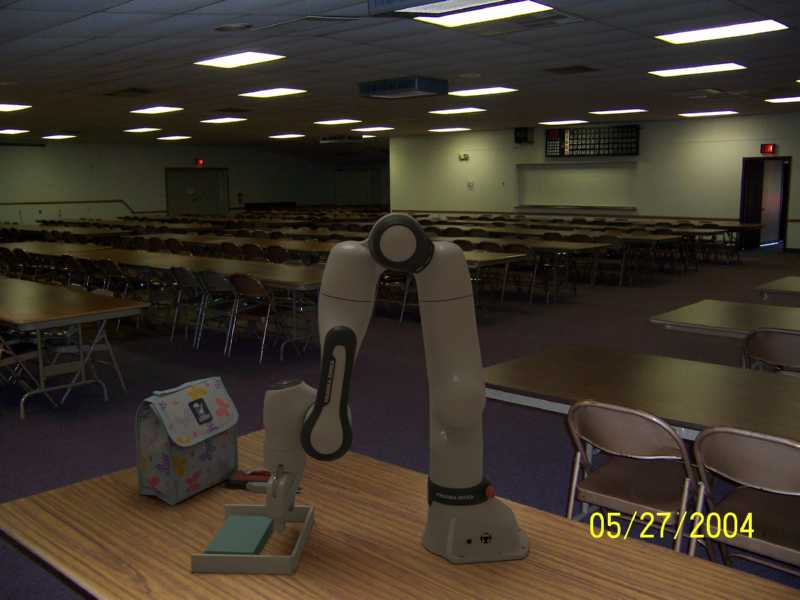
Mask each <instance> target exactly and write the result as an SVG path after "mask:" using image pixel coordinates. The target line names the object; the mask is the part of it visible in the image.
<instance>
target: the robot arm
mask: <svg viewBox="0 0 800 600" xmlns="http://www.w3.org/2000/svg"><path fill="white" fill-rule="evenodd" d="M386 270H391V271H396V272H402V273H403V272H404V273H409V274H412V275H413V277H414V279H415V284H416V288H417V296H418V305H419V307H418V308H419V315H420V321H421V328H422V329H421V330H422V336H423V337H422V338H423V346H424V355H425V356H424V357H425V363H426V373H427V382H428V388H429V389H428V390H429V475H428V476H427V482H426V501H427V504H428V507H427V516H426V521H425V526H424V531H423V534H422V536H421V543H422V545H423V547H424V548H425V549H427V550H428V551H429V552H431V553H433V554H435V555H438V556H440V557H443V558H445V559H446V560H448V561H449V562H450V563H452V564H457V565H458V564H459V565H460V564H471V563H485V562H495V561H496V562H497V561H509V560H520V559H521V560H522V559H524V558H525V557H527V555H528V553H529V552H530V542H529V537H528V535H527V533H526V531H525V530H524V529H523V527H521V526H519V525H518V521H517V517H516V515H515V512H514V511H513V509H512V508H511V507H510V506H509V505H507V504H506V503H504V502H503V501H502V500H500V499H499V498H498V497H496V488H495V487H494V486H493V483H492V481H491V480H490V477H489V475H486V477H485V476H483V468H484V466H483V461H484V460H483V457H484V455H483V454H484V440H483V439H484V437H483V418H482V417H483V415H482V413H483V411H484V409H485V407H486V402H487V391H486V383H485V375H484V374H485V373H484V368H483V362H482V356H481V355H482V354H481V347H480V341H479V339H480V338H479V335H478V334H479V332H478V327H477V318H476V311H475V309H476V308H475V301H474V299H475V298H474V292H473V284H472V280H471V279H472V278H471V274H470V270H469V266H468V263H467V258H466V256H465V253H464V251H463V249H462V248H461V247H460V245H458V244H457V243H454V242H452V241H447V240H440V241H433V240H432V239H431V238H430V236H429V235H428V233H426V231H425V229H424V228H423V227H422V226H421V224H420V223H419V222H418V221H417V219H416V218H414V217H413V216H411V215H409V214H407V213H404V212H391V213H388V214H385V215H383V216H381V217H380V218H379V219H378V220H376V222H375V224H374V225H373V226H372V228H371V230H370V231H369V232H368V234H367V235H365V238H364V239H363V240H361V241H360V240H358V241H357V240H346V241H341V242H338V243H336V244H335V245H334V246H333V247H332V248H331V250H330V252H329V255H328V257H327V260H326V263H325V267H324V271H323V274H322V278H321V282H320V289H319V293H318V294H319V296H318V304H317V305H318V308H317V313H318V314H317V316H318V317H317V320H318V321H317V322H318V334H319V342H320V370H319V377H318V383H317V388H314V387H312V386H310V385H309V384H307V383H306V382H305V381H303V380H302V379H299V378H286V379H283V380H282V379H281V380H277V381H276V382H273V384H271V385H270V386H269V387H268V388H267V390H265V391H266V392H265V394H264V399H263V413H262V415H263V416H262V421H263V424H262V425H263V428H264V432H265V433H264V439H263V447H262V448H263V468H266V469H267V470H269V471H270V474H271V477H270V479H269V481H268V484H267V492H266V493H265V495H266V497H265V505H266V516H267V518H269V519H274V528H275V529H274V530H275V532H276V533H283V532H285V530H286V521H285V520H284V517H285V515H286V513H287V511H290V512H292V511H293V509H294V507H295V506H296V505H295V504H296V503H295V501H296V496H297V492H298V490H297V489H298V487H300V485H301V484H302V480H303V477H304V470H305V467H307V456H309V457H311V458H312V459H314V460H316V461H319V462H333V461H337V460H339V459H341V458H343V457H344V456H345V455H346V454H347V453H348V451H349V450H350V449H351V447H352V445H353V439H354V436H353V435H354V434H353V427H352V410H351V407H350V404H349V401H350V400H349V399H350V392H351V386H352V385H351V384H352V378H353V373H354V372H353V371H354V366H355V363H356V360H357V356H358V353H359V350H360V348H361V346H362V342H363V340H364V337H365V335H366V332H367V330H368V326H369V325H370V320H371V316H372V312H373V308H374V305H375V304H374V301H375V297H376V289H377V285H378V281H379V278H380V276H381V275H382V273H383V272H384V271H386Z"/></svg>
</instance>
